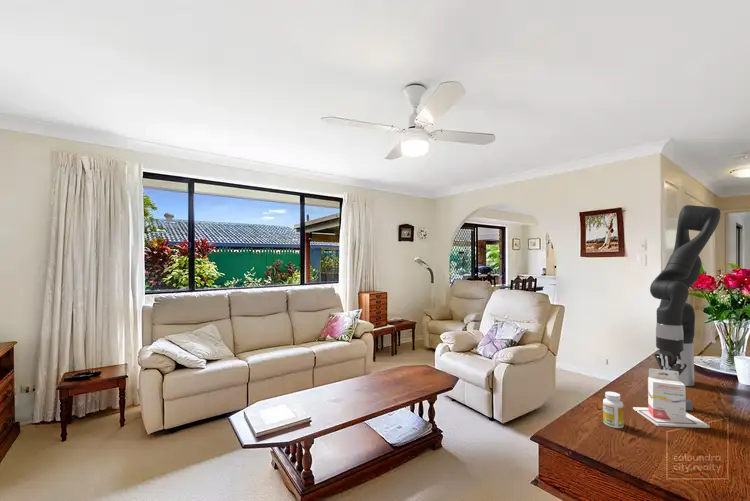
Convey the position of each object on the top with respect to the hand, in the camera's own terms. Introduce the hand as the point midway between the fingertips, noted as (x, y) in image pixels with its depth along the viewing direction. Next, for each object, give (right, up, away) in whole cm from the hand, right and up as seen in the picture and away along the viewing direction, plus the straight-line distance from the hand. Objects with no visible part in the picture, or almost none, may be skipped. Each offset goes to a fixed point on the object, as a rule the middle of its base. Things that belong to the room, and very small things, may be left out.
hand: (670, 384), depth 123 cm
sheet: (-9, -7, -10) cm, 15 cm away
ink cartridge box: (-10, -7, -11) cm, 16 cm away
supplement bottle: (-30, -8, -14) cm, 34 cm away
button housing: (+1, -7, -1) cm, 7 cm away
